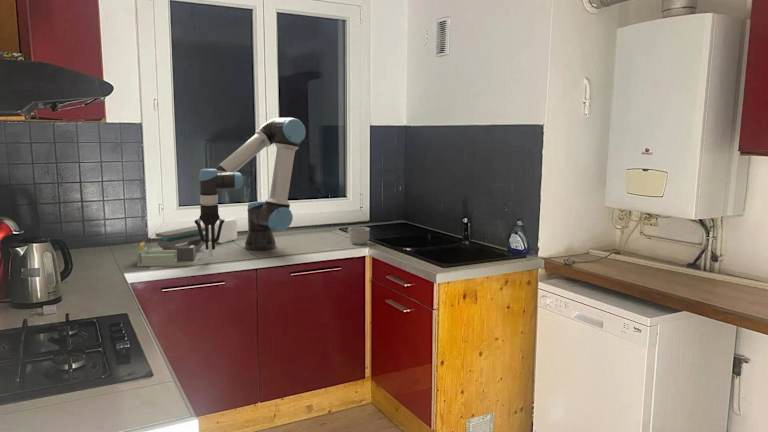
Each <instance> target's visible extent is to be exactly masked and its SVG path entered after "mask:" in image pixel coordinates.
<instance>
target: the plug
mask: <svg viewBox="0 0 768 432" xmlns="http://www.w3.org/2000/svg"><path fill="white" fill-rule="evenodd" d="M177 246H178V247H177V262H188V261H194V260H195V259H196V257H197V255H196V253H197V252H195V246H194V245H191V246H180V245H177Z"/></svg>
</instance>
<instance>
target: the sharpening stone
mask: <svg viewBox="0 0 768 432" xmlns="http://www.w3.org/2000/svg"><path fill="white" fill-rule="evenodd" d="M201 227H202V230H203V231H205V227H203V225H201ZM154 237H155V238H161V239H157V245H158V246H159V247H160V248H161V250H177V247H178V246H191V245H194V246H195V252H196V253H199V251H201V249H202V247H203V246H204V244H206V243H205V242H203V241H201V238H200V234H199V231H198V227H197V225H194V226H193V225H192V226H188V227H183V228H178V229H172V230H171V229H170V230H167V231H166V230H165V231H161V232H156V233H155V236H154ZM204 237H205V234H204ZM183 243H185V244H183ZM178 244H181V245H178Z"/></svg>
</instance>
